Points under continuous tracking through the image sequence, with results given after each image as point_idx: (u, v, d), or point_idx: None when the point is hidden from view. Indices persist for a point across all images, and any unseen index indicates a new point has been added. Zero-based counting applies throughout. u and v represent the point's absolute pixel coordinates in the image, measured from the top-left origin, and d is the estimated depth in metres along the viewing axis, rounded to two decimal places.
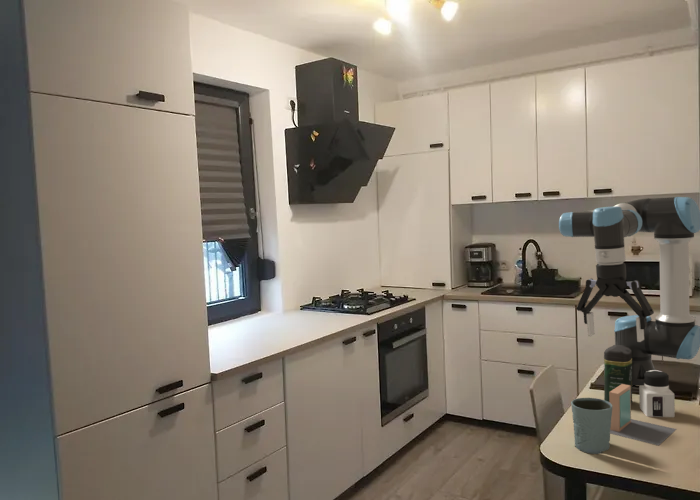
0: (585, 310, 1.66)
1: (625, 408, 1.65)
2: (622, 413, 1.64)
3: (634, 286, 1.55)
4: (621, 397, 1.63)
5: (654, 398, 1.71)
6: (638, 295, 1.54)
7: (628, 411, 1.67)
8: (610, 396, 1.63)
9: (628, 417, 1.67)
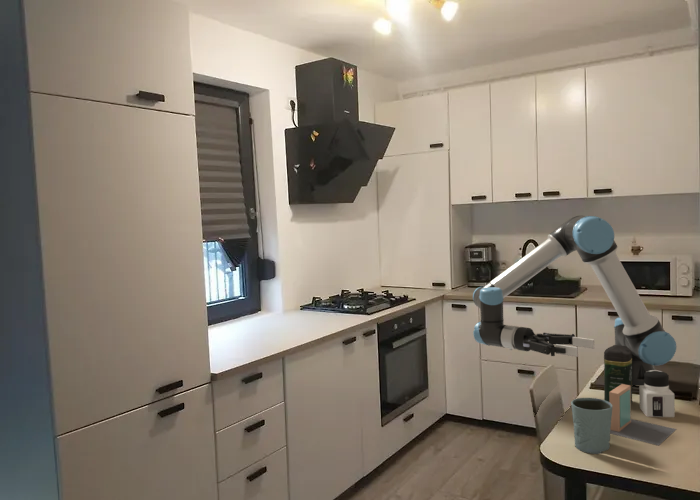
0: None
1: (625, 408, 1.65)
2: (622, 413, 1.64)
3: None
4: (621, 397, 1.63)
5: (654, 398, 1.71)
6: None
7: (628, 411, 1.67)
8: (610, 396, 1.63)
9: (628, 417, 1.67)
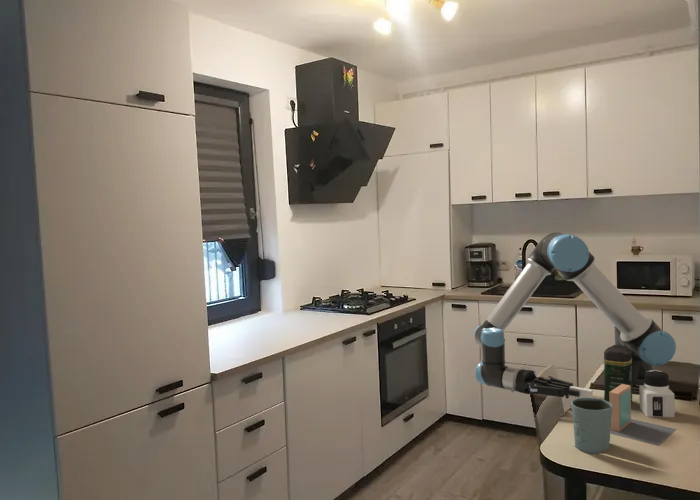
0: None
1: (625, 408, 1.65)
2: (622, 413, 1.64)
3: None
4: (621, 397, 1.63)
5: (654, 398, 1.71)
6: None
7: (628, 411, 1.67)
8: (610, 396, 1.63)
9: (628, 417, 1.67)
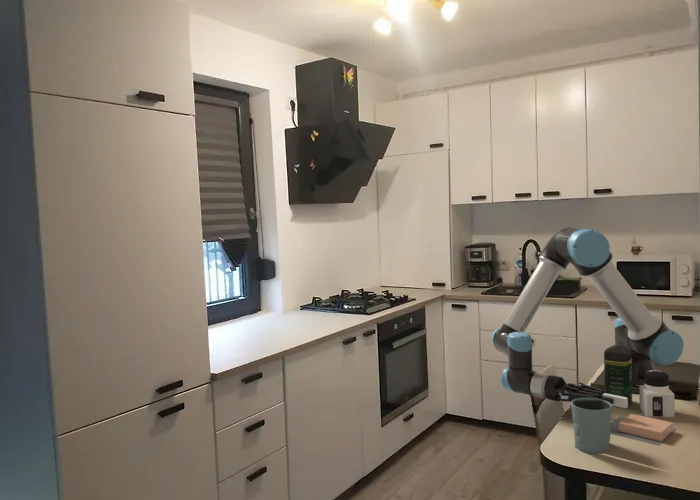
0: None
1: None
2: None
3: None
4: None
5: (654, 398, 1.71)
6: None
7: None
8: (656, 432, 1.55)
9: None
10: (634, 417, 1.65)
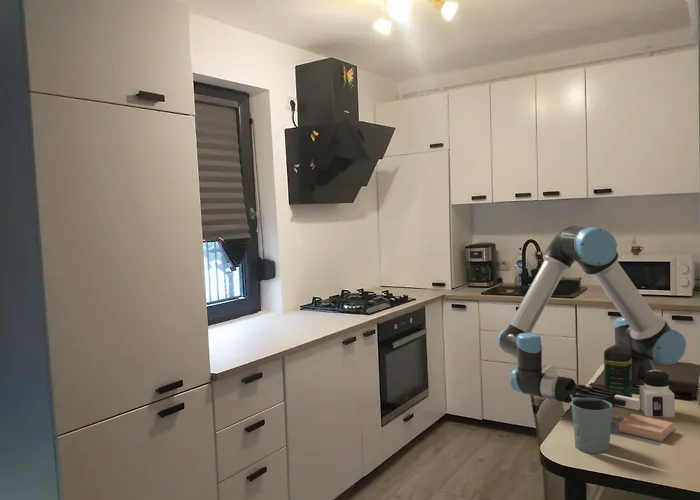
0: None
1: None
2: None
3: None
4: None
5: (654, 398, 1.71)
6: None
7: None
8: (656, 432, 1.55)
9: None
10: (634, 417, 1.65)
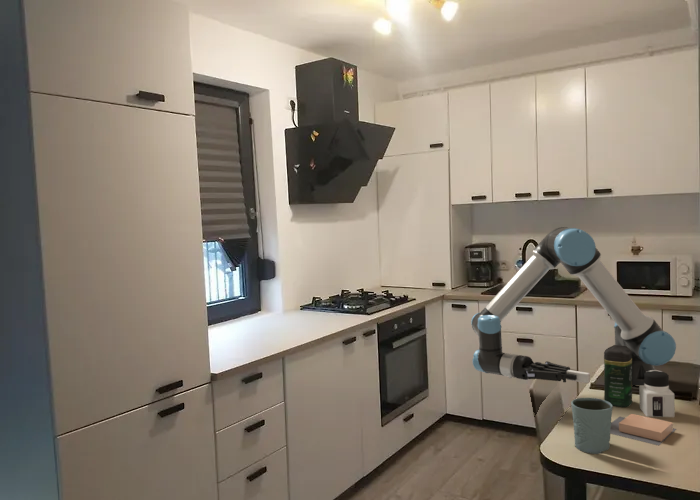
0: None
1: None
2: None
3: None
4: None
5: (654, 398, 1.71)
6: None
7: None
8: (656, 432, 1.55)
9: None
10: (634, 417, 1.65)
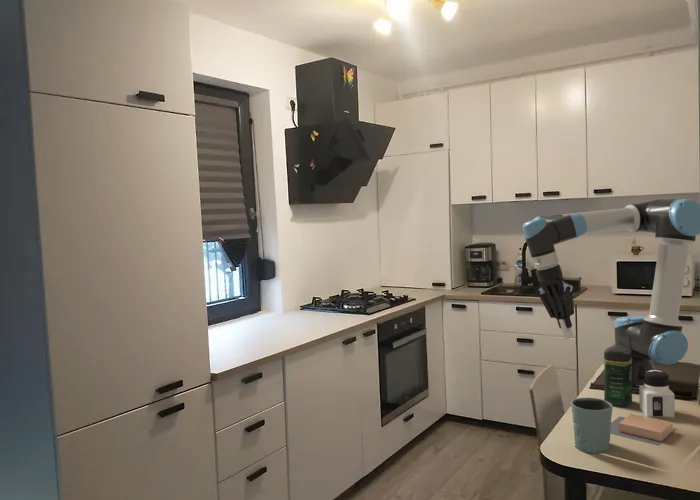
0: (556, 316, 1.84)
1: None
2: None
3: (567, 291, 1.78)
4: None
5: (654, 398, 1.71)
6: (567, 298, 1.79)
7: None
8: (656, 432, 1.55)
9: None
10: (634, 417, 1.65)
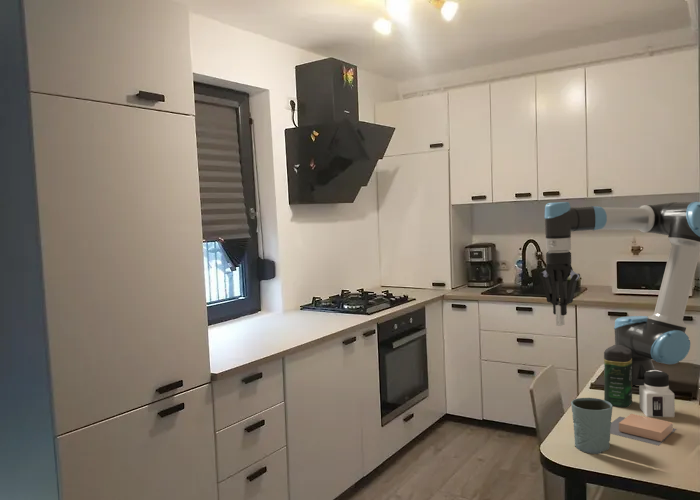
0: (554, 301, 1.84)
1: None
2: None
3: (574, 278, 1.78)
4: None
5: (654, 398, 1.71)
6: (571, 286, 1.79)
7: None
8: (656, 432, 1.55)
9: None
10: (634, 417, 1.65)
